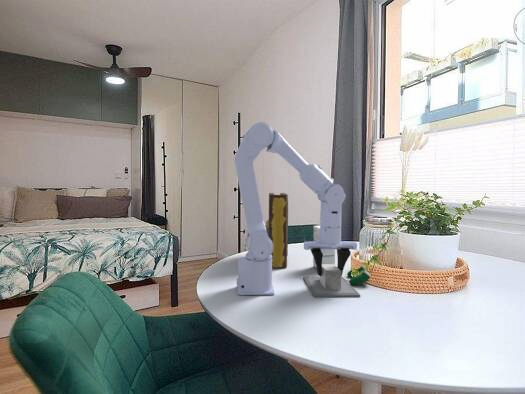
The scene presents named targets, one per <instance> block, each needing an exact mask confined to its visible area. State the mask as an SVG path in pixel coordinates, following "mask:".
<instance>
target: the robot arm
mask: <svg viewBox="0 0 525 394" xmlns="http://www.w3.org/2000/svg"><path fill="white" fill-rule="evenodd" d="M238 146H239V147H238V149H237V150H236V153H235V155H234V159H233V160H234V165H235V167H234V168H235V171H236V176H237V181H238V187H239V192H240V197H241V203H242V208H243V213H244V218H245V224H246V231H247V232H246V239H245V245H246V247H247V249H248V251H247V252H246V254H245V256H243V257H238V258H237V277H236V286H237V296H245V295H246V296H247V295H251V296H253V295H254V296H256V295H257V296H260V295H264V296H266V295H272V296H273V295H275V289H274V285H273V269H272V255H271V254H272V252H273V243H272V241H271V240H270V238H269V234H268V231H267V230H268V229H267V227H266V223H265V222H264V215H263V211H262V206H261V199H260V194H259V189H258V184H257V183H258V182H257V179H256V173H255V168H254V161H255V160H256V159H257V157H258V156H259V155H260V153H261V152H262V151H263V150H265V149H266V148H267V149H266V150H265V152H266V153H272V154H278V155H279V156H280V157H281V158H282V159H283V160H284V161H285V162H287V163H288V164H289V165H290V166H292V167H293V168H294V169H295V170H296V171H297V172H298V174H299V179H300V181H302V182H303V183H304V184H305V186H307V187H308V189H310V190H311V191H313V193H314V194H316V196H317V199H318V200H319V201H320V216H319V217H320V221H319V222H320V223H319V224H320V241H314V240H313V241H304V242H303V249H304V250H306V251H309V250H310V253H311V254H312V258H313V257H314V260H315V263H316V267H317V269H316V270H317V271H316V272H317V276H318V277H320V276H322V257H323V253H322V251H321V249H335V250H336V253H337V254H336V255H337V257H336V259H337V266H336V267H337V268H338V269H339V270H341V277H343V272H344V268H345V266H346V263H347V261H348V259H349V257H350V256H351V253H352V252H351V250H352V251H354V250H356V251H357V250H358V242H356V241H345V240H342V214H343V213H342V206H343V203H344V201H345V200H346V198H347V194H346V193H345V190H344V188H343V186H342V185H340V184H339V183H334V181H335V180H334V178H332V177H329V175H327V174H326V173H325V172H324V171H323V170H322V169H323V167H322V166H321V165H319V164H317V165H316V163H308V162H307V161H306V160H305V159H304V158H303V157H302V156H301V155H300V154H299V152H298V151H297V150H295V148H293V147H292V145H290V143H288V141H287V140H286V139H285V138H284V137H283V136H282V135H281V134H280V132H278V130H275V129H273V127H271V125H270V124H269V123H266V122H261V121H259V122H256V123H254V124H253V125H252V126H251V127H250V128H249V129H248V130H247V131H246V132H245V134H244V136H243V137H242V139H241V142H240V144H239V145H238Z"/></svg>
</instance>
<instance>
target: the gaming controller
mask: <svg viewBox="0 0 525 394" xmlns="http://www.w3.org/2000/svg"><path fill="white" fill-rule="evenodd" d="M363 267H364V265H361V266H360V267H359V268H356V269H354V270H358V271H359V275H358V276H356V277H353V278H352V276H351V272H352V270H353V269H351V270H349V271H348V272H347V277H348V278H350V279H349V280H348V283H349V284H350V285H351V286H357V285H362V284H365V283H366V282H369V280H370V278H371V273H370V272H369V271H367V270H368V269H367V270H365V269H364V268H363Z"/></svg>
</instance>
